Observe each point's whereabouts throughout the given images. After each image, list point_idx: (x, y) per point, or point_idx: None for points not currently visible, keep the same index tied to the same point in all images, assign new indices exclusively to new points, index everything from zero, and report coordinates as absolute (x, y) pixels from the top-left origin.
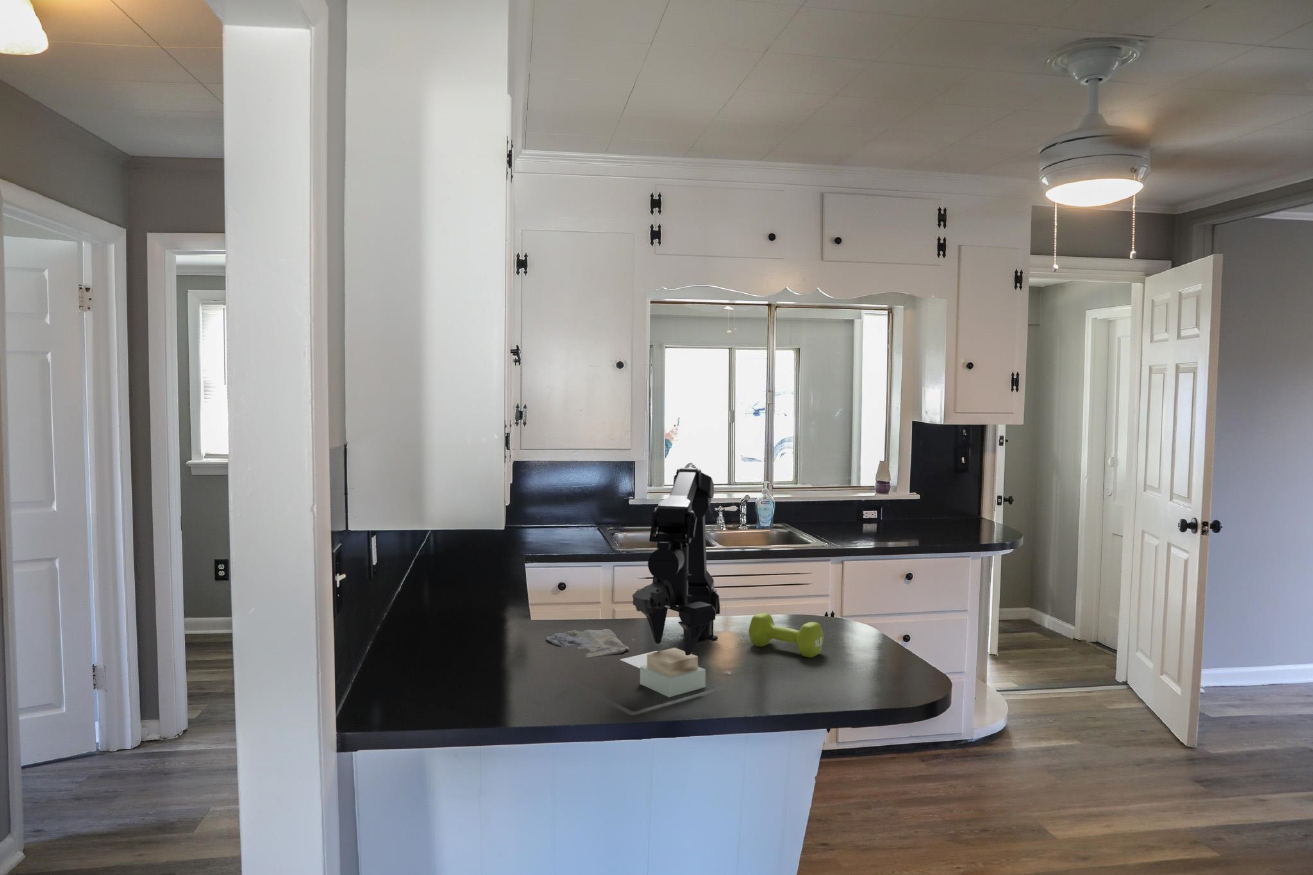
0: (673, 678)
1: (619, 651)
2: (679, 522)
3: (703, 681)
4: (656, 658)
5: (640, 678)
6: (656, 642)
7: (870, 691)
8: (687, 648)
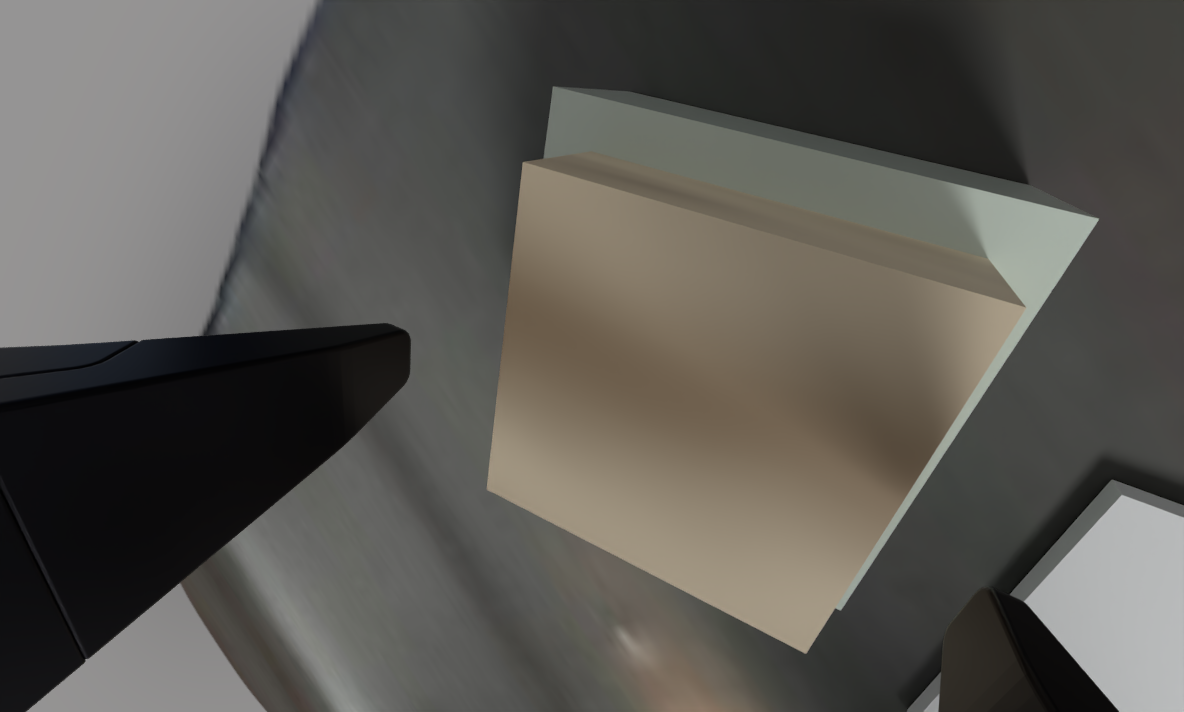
0: (550, 142)
1: None
2: None
3: None
4: (781, 235)
5: (1045, 193)
6: (988, 597)
7: (253, 580)
8: (297, 334)
